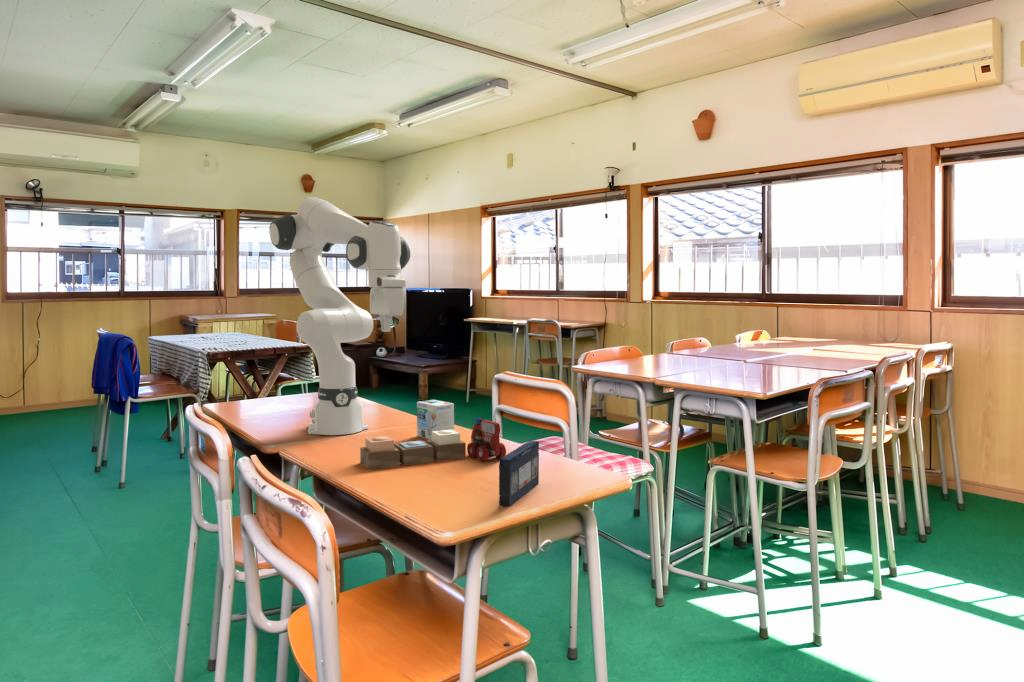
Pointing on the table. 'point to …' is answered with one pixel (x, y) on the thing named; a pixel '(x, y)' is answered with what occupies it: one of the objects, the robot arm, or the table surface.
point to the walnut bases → (412, 455)
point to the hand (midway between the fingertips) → (386, 331)
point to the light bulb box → (434, 417)
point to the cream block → (445, 437)
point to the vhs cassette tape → (518, 473)
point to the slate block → (413, 444)
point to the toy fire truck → (485, 441)
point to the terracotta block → (379, 444)
